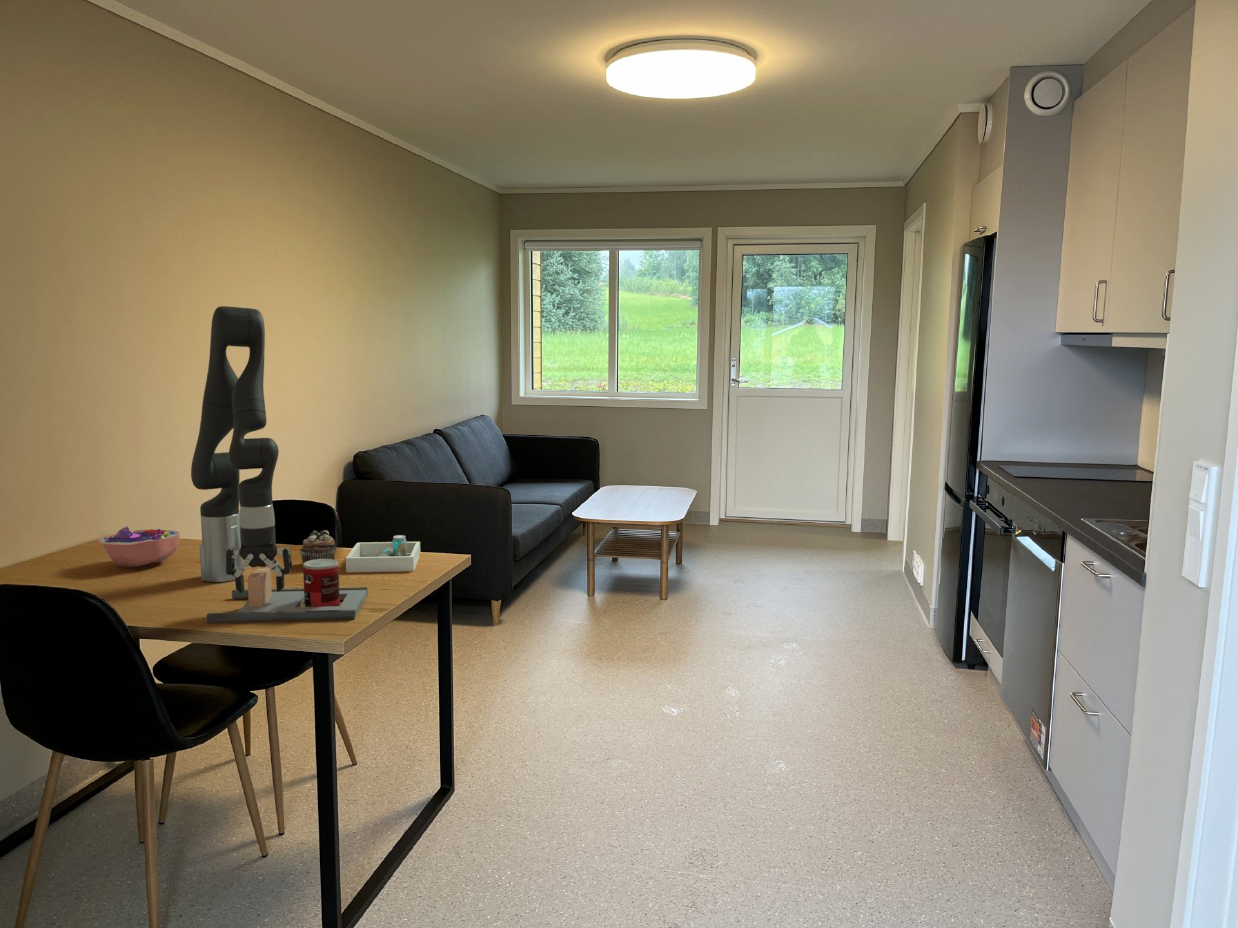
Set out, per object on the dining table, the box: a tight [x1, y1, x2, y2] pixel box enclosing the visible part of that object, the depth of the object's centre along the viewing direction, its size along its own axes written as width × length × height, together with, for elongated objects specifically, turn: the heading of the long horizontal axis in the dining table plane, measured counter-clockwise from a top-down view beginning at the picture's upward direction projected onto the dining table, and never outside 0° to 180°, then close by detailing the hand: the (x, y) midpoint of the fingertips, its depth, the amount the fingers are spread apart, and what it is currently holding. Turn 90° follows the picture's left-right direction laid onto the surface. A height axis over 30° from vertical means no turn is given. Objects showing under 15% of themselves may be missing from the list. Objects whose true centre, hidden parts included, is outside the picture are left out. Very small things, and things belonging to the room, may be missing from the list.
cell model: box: [98, 526, 181, 568], centre depth 242 cm, size 17×20×11 cm
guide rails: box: [206, 586, 369, 624], centre depth 207 cm, size 32×19×2 cm, turn 97°
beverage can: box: [377, 534, 407, 557], centre depth 248 cm, size 12×12×8 cm
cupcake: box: [299, 529, 337, 565], centre depth 244 cm, size 10×10×10 cm
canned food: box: [302, 559, 341, 607], centre depth 207 cm, size 8×8×11 cm
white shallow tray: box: [345, 541, 421, 573], centre depth 248 cm, size 18×18×4 cm
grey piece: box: [237, 567, 368, 617], centre depth 207 cm, size 26×16×8 cm, turn 97°
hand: (260, 591), depth 206 cm, fingers open, 8 cm apart
